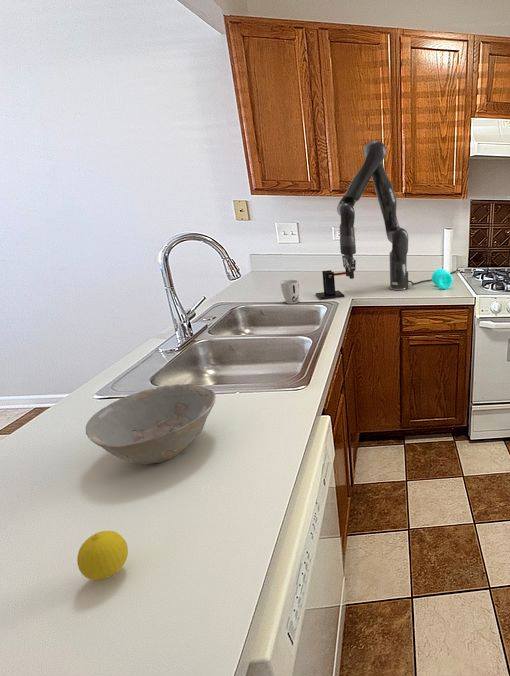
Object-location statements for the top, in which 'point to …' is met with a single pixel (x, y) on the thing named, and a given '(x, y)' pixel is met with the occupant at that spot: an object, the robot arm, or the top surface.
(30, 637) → the top surface
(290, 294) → the cup
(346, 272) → the lever
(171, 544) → the top surface
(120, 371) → the top surface
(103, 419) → the ceramic bowl
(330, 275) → the bracket
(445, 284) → the turquoise rounded cylinder
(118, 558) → the lemon
